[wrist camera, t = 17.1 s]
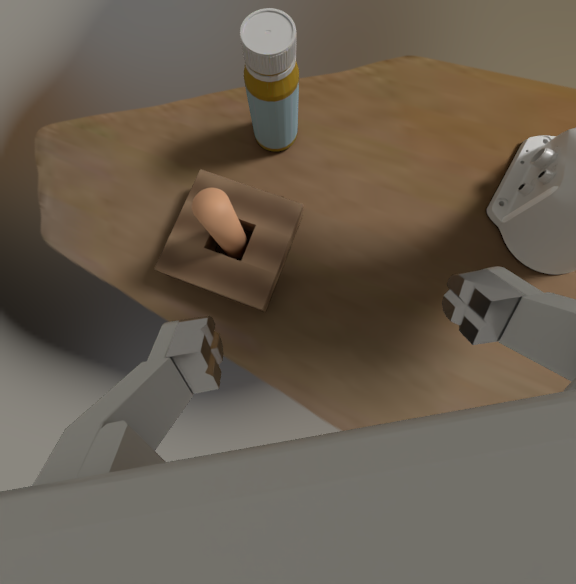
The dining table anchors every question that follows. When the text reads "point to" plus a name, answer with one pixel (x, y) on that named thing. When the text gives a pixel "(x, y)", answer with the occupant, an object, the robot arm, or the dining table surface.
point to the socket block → (258, 255)
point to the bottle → (271, 77)
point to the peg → (220, 221)
